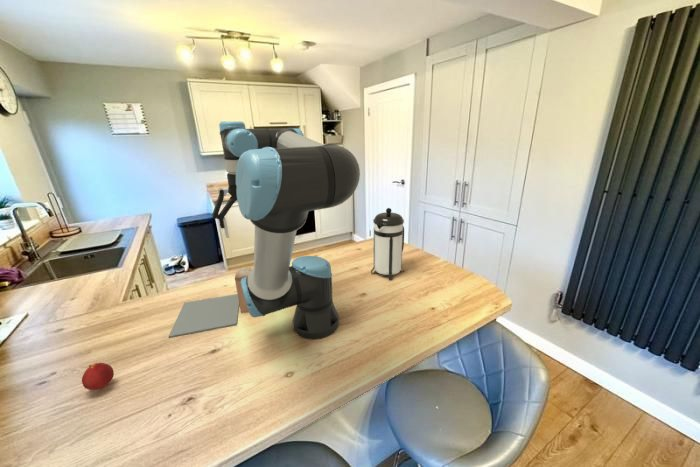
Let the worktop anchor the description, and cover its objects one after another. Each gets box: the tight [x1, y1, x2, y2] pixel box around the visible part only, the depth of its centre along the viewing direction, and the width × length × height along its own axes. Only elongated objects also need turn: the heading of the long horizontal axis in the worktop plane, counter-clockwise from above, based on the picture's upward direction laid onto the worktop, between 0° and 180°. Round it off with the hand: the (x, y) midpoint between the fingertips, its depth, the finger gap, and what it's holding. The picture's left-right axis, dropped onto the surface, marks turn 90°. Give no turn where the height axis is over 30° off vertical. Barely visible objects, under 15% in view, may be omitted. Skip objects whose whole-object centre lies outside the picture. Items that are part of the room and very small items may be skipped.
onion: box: [81, 362, 115, 391], centre depth 69 cm, size 6×6×8 cm
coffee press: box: [370, 207, 405, 281], centre depth 122 cm, size 17×16×30 cm
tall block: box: [234, 267, 252, 314], centre depth 101 cm, size 7×5×14 cm
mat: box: [168, 293, 240, 339], centre depth 100 cm, size 20×20×1 cm
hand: (247, 232), depth 99 cm, fingers open, 13 cm apart
